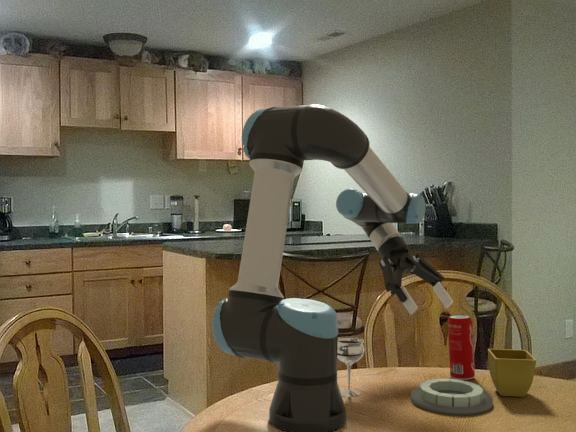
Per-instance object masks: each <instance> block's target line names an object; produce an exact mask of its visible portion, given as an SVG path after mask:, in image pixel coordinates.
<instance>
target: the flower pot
mask: <svg viewBox="0 0 576 432" xmlns="http://www.w3.org/2000/svg"><path fill="white" fill-rule="evenodd" d="M487 359H488V369H489V373H490V378H491V380H492V383H493V386H494V388H495V389H496V391H497V392H498V394H499V395H500V396H501V397H518V398H519V397H520V398H523V397H525V396H526V395H527V393H529V390H530V389H531V387H532V385H533V381H534V377H535V370H536V364H537V359H536V358H535V357H534V356H533V355H532V354H531V353H530V352H529V351H528V350H526V349H511V348H510V349H508V348H507V349H506V348H503V349H502V348H487Z"/></svg>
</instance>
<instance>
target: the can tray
mask: <svg viewBox="0 0 576 432" xmlns="http://www.w3.org/2000/svg"><path fill="white" fill-rule="evenodd" d="M410 401H411V403H412V404H413V405H415V406H416V407H418V408H420V409H423V410H426V411H428V412H431V413H437V414H442V415H449V416H450V415H451V416H471V415H472V416H473V415H479V414H482V413H483V414H485V413H486V412H488V411H490V410H492V408H493V398H492V396H490V395H489V394H488V393H486V392H484V388H483V387H481V386H480V385H479V384H478V383H474V382H471V381H468V380H457V379H453V378H435V379H434V378H433V379H429V380H425V381H422V382H421V383H420V384H419V387H417V388H414V389H413V390H412V391H411V393H410Z"/></svg>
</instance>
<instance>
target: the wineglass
mask: <svg viewBox="0 0 576 432" xmlns="http://www.w3.org/2000/svg"><path fill="white" fill-rule="evenodd" d="M364 343H365V339H364V338H362V337H357V336H338V351H337V360H339V361H340V362H342V363H345V365H346V367H347V371H346V372H347V389H342V390H340V393H341V396H342V397H347V398H353V397H358V396H359V395H361V393H360V392H359V391H357V390H356V389H355V390H354V389H351V388H350V387H351V371H352V370H351V367H352V366H353V364H355V363H357V362H358V361H360V360H361V359H362V358H363V356H364V355H365V345H364Z"/></svg>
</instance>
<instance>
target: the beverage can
mask: <svg viewBox="0 0 576 432" xmlns="http://www.w3.org/2000/svg"><path fill="white" fill-rule="evenodd" d="M473 331H474V330H473V320H472V317H471V315H469V314H451V315H449V316H448V319H447V335H448V353H449V354H448V356H449V375H450V377H451V379H457V380H464V381H468V380H472V379H474V378H475V376H476V375H475V374H476V370H475V368H476V367H475V355H474V354H475V353H474V352H475V350H474V349H475V348H474V332H473Z"/></svg>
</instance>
